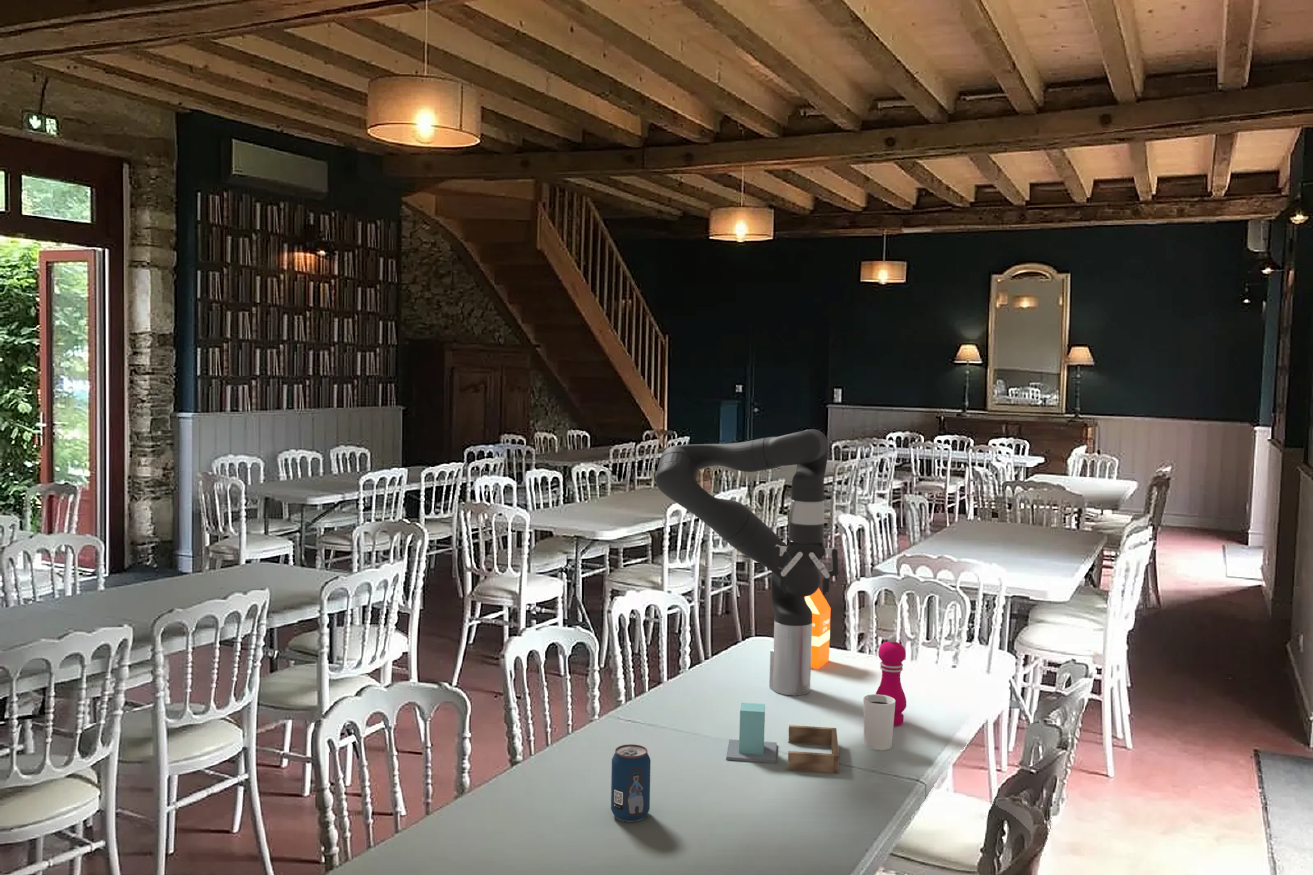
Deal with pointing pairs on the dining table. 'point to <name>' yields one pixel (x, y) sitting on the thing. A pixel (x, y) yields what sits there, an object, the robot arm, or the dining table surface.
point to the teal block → (752, 728)
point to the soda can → (630, 783)
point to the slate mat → (767, 756)
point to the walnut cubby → (809, 759)
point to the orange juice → (819, 628)
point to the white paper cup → (878, 721)
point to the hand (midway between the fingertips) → (804, 593)
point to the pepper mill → (893, 676)
